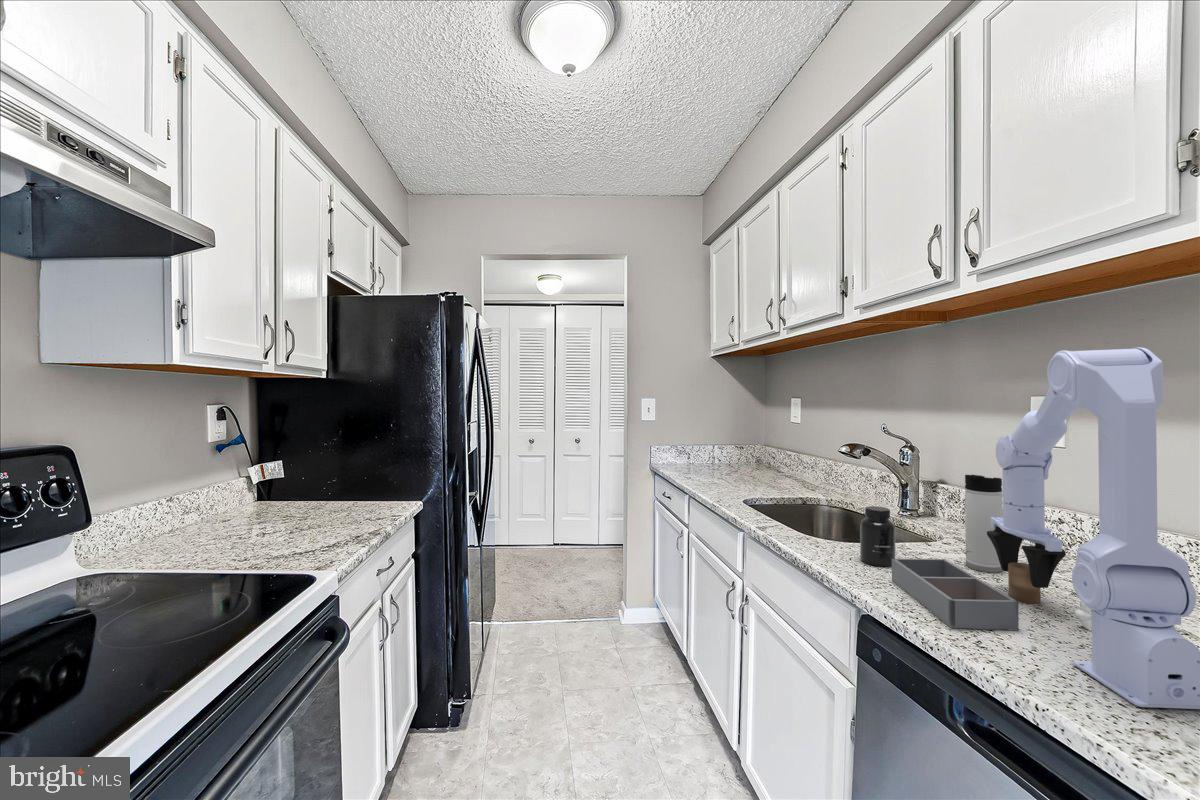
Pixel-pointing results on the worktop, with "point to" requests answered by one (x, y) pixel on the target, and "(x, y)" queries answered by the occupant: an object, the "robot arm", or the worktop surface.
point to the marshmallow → (1084, 615)
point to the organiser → (955, 594)
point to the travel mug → (981, 521)
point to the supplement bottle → (877, 537)
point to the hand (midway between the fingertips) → (1023, 578)
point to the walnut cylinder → (1022, 584)
